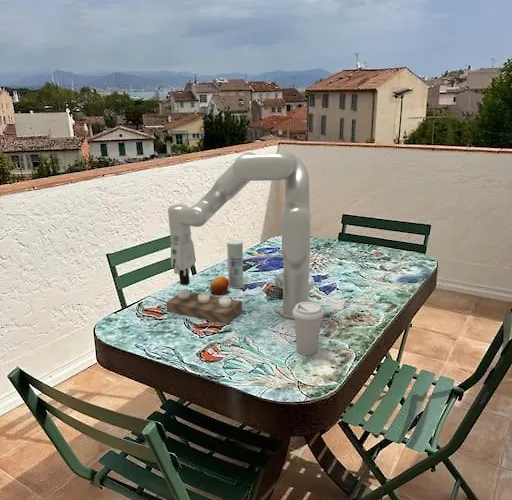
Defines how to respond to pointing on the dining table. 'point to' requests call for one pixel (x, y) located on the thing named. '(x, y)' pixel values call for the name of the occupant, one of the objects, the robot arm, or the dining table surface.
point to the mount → (204, 308)
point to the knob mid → (204, 298)
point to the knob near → (224, 302)
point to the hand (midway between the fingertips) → (184, 284)
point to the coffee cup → (307, 326)
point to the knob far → (183, 294)
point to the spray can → (235, 263)
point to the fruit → (219, 285)
